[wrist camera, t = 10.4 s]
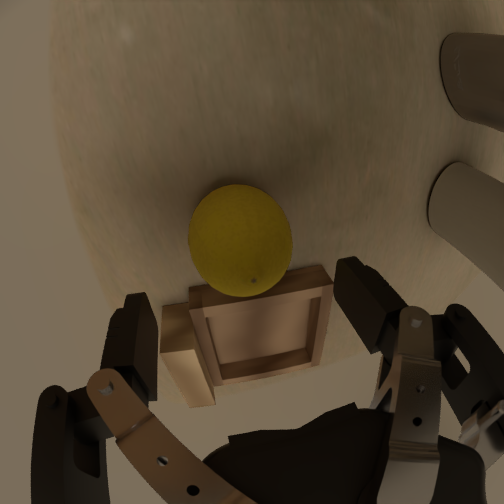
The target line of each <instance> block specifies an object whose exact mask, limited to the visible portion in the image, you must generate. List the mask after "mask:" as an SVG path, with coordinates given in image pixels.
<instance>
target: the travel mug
mask: <svg viewBox="0 0 504 504" xmlns="http://www.w3.org/2000/svg"><path fill="white" fill-rule="evenodd" d="M429 222H430V225H431V227H432V229H433V230H434V231H435V232H436V233H437V234H439V235H440V236H441V237H442V238H444V239H445V240H446V241H447V242H449V243H450V244H451V245H452V246H454V247H455V248H456V249H457V250H459V251H460V252H461V253H462V254H463V255H465V256H466V257H467V258H468V259H469V260H470V261H472V262H473V263H474V264H475V265H476V266H477V267H478V268H479V269H481V270H482V271H483V272H484V273H485V274H486V275H487V276H488V277H489V278H491V279H492V280H493V281H494V282H495V283H496V284H497V285H498V286H499V287H500V288H501V289H502V290H503V291H504V183H502V182H500V181H498V180H497V179H495V178H493V177H491V176H489V175H487V174H485V173H483V172H481V171H479V170H477V169H475V168H473V167H470V166H468V165H466V164H464V163H461V162H457V163H453V164H451V165H450V166H448V167H447V168H446V169H445V170H444V171H443V172H442V174H441V175H440V177H439V178H438V180H437V182H436V184H435V186H434V188H433V191H432V194H431V198H430V202H429Z"/></svg>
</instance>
